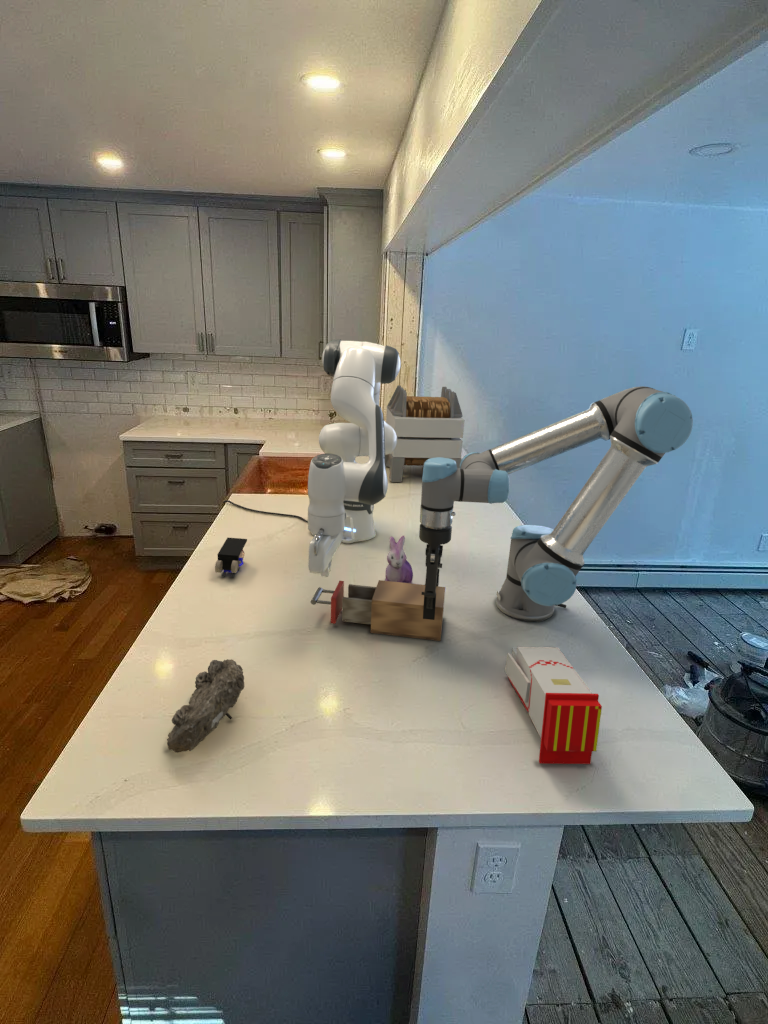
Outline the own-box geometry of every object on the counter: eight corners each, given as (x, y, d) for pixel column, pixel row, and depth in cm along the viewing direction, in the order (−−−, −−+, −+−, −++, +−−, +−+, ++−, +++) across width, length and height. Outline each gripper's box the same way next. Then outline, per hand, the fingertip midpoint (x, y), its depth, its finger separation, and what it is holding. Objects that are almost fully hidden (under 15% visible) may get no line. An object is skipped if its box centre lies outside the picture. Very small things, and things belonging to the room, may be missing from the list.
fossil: (192, 660, 117) (244, 628, 112) (224, 691, 120) (276, 661, 115) (142, 746, 98) (202, 712, 93) (182, 779, 101) (242, 748, 96)
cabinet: (370, 632, 138) (371, 599, 135) (377, 611, 148) (378, 580, 145) (440, 641, 136) (443, 607, 133) (442, 618, 146) (445, 586, 143)
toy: (554, 629, 125) (611, 701, 96) (548, 684, 128) (602, 772, 98) (500, 628, 125) (540, 700, 95) (495, 684, 127) (533, 771, 98)
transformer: (382, 463, 289) (386, 382, 275) (445, 464, 293) (451, 384, 279) (390, 482, 257) (394, 392, 243) (460, 483, 261) (468, 394, 247)
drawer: (309, 620, 141) (309, 595, 138) (319, 602, 150) (319, 578, 147) (393, 630, 138) (395, 604, 136) (398, 611, 147) (400, 586, 144)
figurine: (391, 596, 156) (394, 546, 151) (375, 580, 164) (377, 533, 159) (421, 590, 160) (424, 541, 155) (403, 575, 169) (406, 528, 163)
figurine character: (238, 584, 162) (249, 557, 175) (236, 562, 158) (247, 536, 172) (215, 584, 161) (227, 556, 175) (212, 561, 158) (225, 535, 171)
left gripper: (328, 539, 126) (328, 594, 131) (347, 509, 145) (346, 559, 150) (301, 537, 127) (301, 592, 132) (323, 507, 146) (323, 556, 151)
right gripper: (450, 546, 120) (443, 633, 127) (453, 508, 143) (448, 583, 151) (414, 543, 121) (410, 629, 128) (424, 505, 144) (420, 580, 152)
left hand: (325, 574), depth 141 cm, fingers closed
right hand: (430, 604), depth 140 cm, fingers open, 13 cm apart
